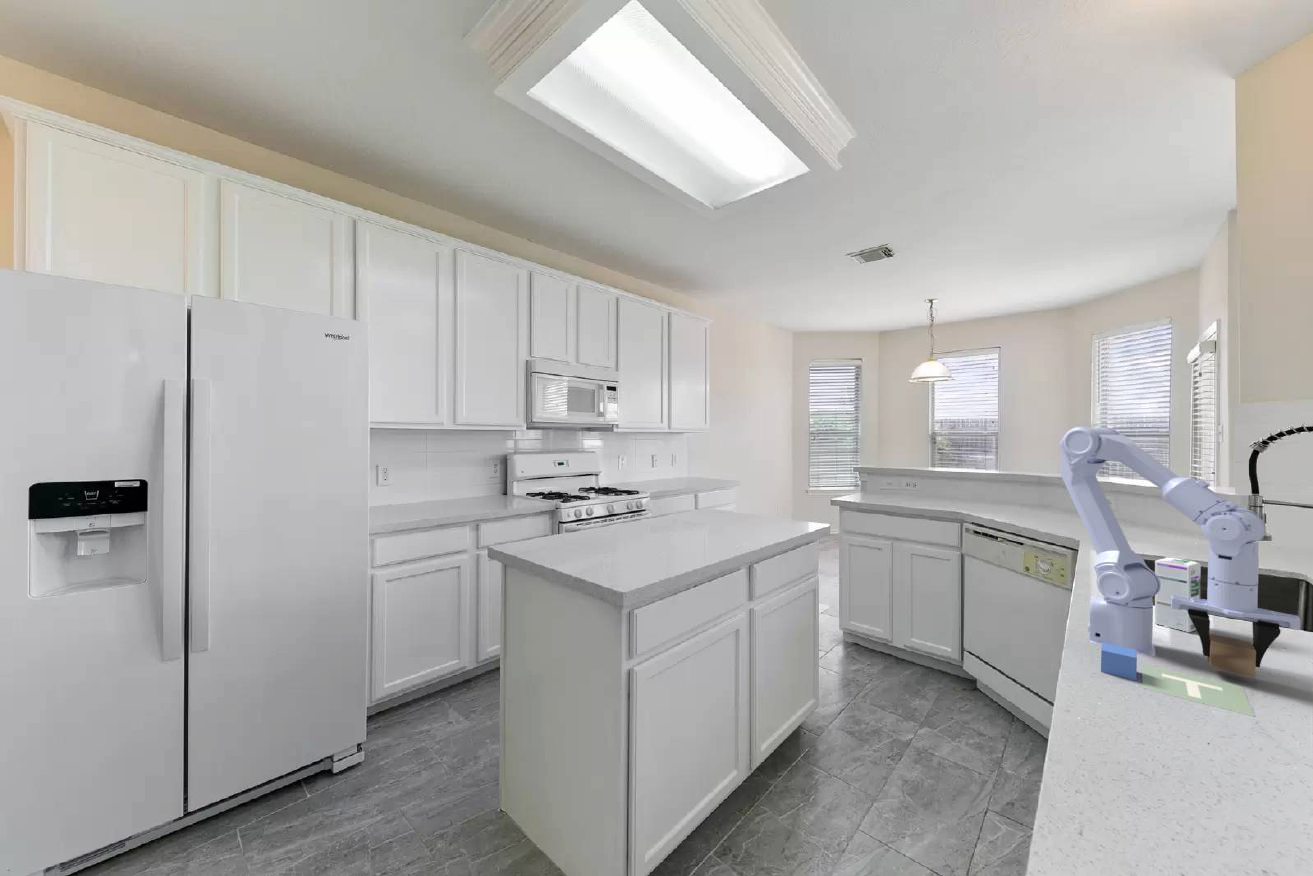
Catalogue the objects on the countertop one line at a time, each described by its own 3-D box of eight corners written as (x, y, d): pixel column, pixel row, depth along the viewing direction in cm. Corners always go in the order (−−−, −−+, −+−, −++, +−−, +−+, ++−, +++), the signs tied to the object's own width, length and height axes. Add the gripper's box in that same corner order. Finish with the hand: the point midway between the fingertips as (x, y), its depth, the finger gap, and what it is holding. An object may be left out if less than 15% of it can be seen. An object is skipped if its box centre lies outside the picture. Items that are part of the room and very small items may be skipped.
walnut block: (1210, 668, 87) (1211, 641, 87) (1207, 658, 91) (1208, 633, 91) (1255, 677, 84) (1256, 650, 84) (1250, 667, 87) (1251, 641, 87)
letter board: (1142, 691, 83) (1142, 688, 83) (1141, 667, 92) (1141, 663, 92) (1255, 720, 75) (1255, 716, 75) (1241, 690, 84) (1242, 686, 84)
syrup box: (1190, 633, 108) (1192, 565, 107) (1153, 624, 113) (1154, 558, 112) (1200, 629, 110) (1202, 562, 110) (1164, 619, 115) (1165, 556, 115)
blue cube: (1100, 675, 89) (1101, 650, 89) (1101, 667, 92) (1102, 642, 92) (1136, 684, 86) (1136, 658, 86) (1135, 675, 89) (1136, 649, 89)
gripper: (1173, 577, 89) (1171, 654, 89) (1305, 595, 79) (1303, 682, 80) (1170, 569, 94) (1169, 642, 95) (1295, 586, 85) (1292, 667, 85)
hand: (1230, 659), depth 87 cm, fingers closed on walnut block, 5 cm apart
